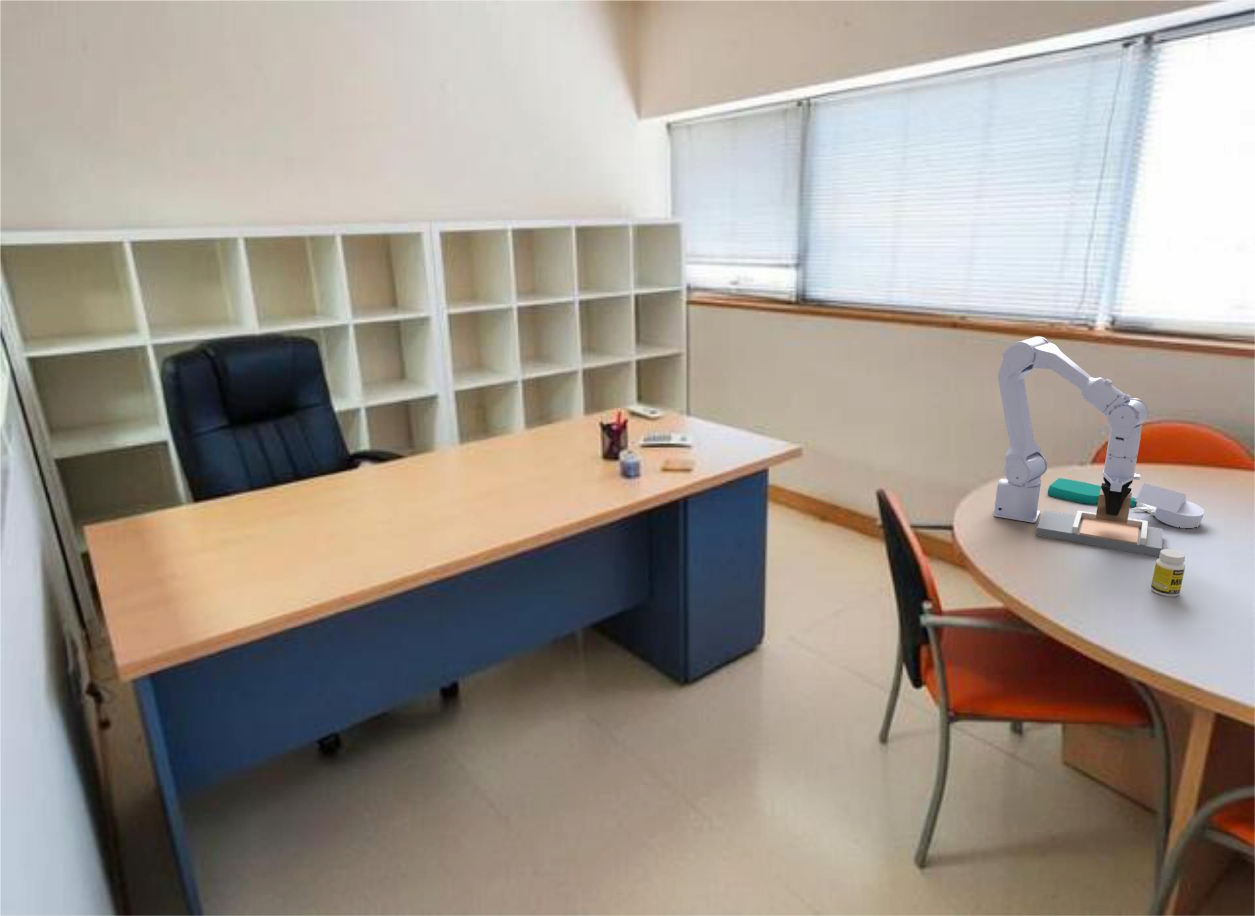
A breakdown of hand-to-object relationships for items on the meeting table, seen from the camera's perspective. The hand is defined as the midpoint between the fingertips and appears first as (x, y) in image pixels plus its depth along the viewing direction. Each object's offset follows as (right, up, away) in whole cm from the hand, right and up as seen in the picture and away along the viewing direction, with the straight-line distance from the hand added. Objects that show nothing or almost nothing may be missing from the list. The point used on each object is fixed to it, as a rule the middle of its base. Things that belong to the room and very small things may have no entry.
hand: (1112, 511), depth 169 cm
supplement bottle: (-3, -15, -21) cm, 26 cm away
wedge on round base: (+20, -2, +11) cm, 23 cm away
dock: (-1, -6, +4) cm, 7 cm away
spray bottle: (+13, 0, +24) cm, 27 cm away
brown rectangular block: (0, -2, 0) cm, 2 cm away
